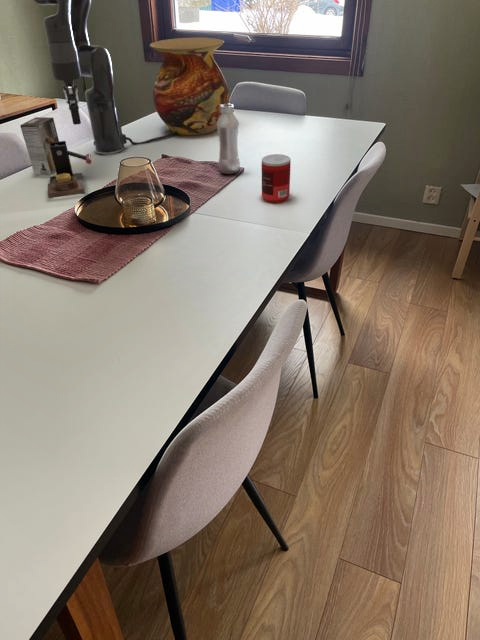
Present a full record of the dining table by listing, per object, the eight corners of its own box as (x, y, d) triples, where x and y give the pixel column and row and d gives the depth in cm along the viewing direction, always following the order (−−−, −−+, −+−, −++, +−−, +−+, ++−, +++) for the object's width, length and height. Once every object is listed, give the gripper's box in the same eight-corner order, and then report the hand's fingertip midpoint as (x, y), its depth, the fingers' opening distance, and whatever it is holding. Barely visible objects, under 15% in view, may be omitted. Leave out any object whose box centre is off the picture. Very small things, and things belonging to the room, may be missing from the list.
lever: (89, 160, 154) (91, 153, 153) (90, 166, 150) (92, 158, 149) (53, 149, 149) (55, 142, 148) (53, 155, 146) (55, 147, 144)
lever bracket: (82, 176, 158) (74, 138, 151) (83, 185, 151) (74, 145, 144) (51, 180, 156) (41, 141, 149) (50, 189, 149) (40, 149, 142)
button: (71, 178, 146) (70, 172, 145) (71, 183, 143) (70, 177, 142) (57, 180, 145) (55, 174, 144) (57, 184, 142) (55, 178, 141)
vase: (189, 115, 214) (183, 35, 196) (244, 124, 200) (242, 39, 182) (142, 132, 195) (129, 45, 177) (198, 144, 181) (191, 51, 163)
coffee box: (48, 167, 165) (35, 116, 156) (66, 168, 164) (54, 117, 155) (34, 177, 158) (19, 124, 149) (52, 178, 157) (38, 125, 148)
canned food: (292, 193, 141) (293, 155, 135) (285, 205, 135) (286, 164, 129) (266, 191, 143) (266, 152, 137) (258, 202, 137) (257, 162, 131)
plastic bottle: (218, 169, 159) (214, 103, 147) (239, 168, 159) (237, 102, 147) (219, 177, 154) (215, 108, 142) (241, 175, 154) (239, 107, 142)
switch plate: (84, 186, 151) (81, 173, 148) (85, 196, 144) (82, 182, 142) (49, 190, 148) (46, 177, 146) (49, 200, 142) (45, 187, 140)
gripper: (79, 62, 134) (91, 125, 143) (77, 55, 145) (88, 114, 154) (50, 64, 132) (64, 127, 142) (50, 57, 143) (63, 116, 153)
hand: (76, 120), depth 148 cm, fingers open, 8 cm apart
